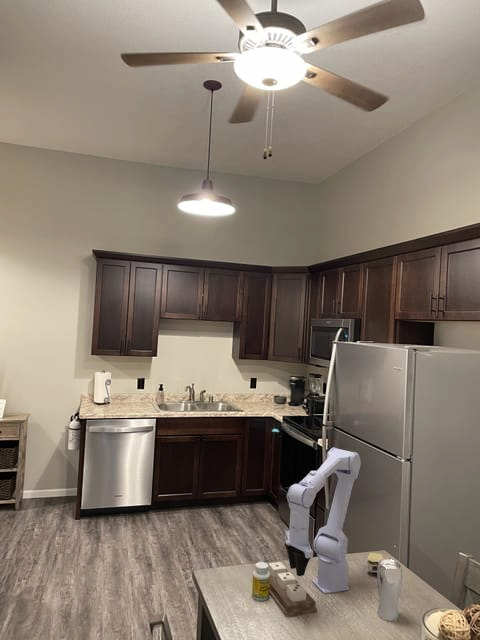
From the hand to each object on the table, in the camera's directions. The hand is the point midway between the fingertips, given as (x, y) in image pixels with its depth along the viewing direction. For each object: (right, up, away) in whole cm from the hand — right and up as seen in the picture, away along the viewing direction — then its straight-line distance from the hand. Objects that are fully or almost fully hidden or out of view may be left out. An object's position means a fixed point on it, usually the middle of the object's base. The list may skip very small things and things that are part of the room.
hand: (297, 571), depth 140 cm
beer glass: (+27, -12, -2) cm, 29 cm away
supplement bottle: (-11, -10, +4) cm, 16 cm away
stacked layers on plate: (+30, -14, +23) cm, 41 cm away
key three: (0, -8, 0) cm, 8 cm away
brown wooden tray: (-3, -11, +6) cm, 13 cm away
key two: (-3, -8, +6) cm, 10 cm away
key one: (-5, -8, +13) cm, 16 cm away
